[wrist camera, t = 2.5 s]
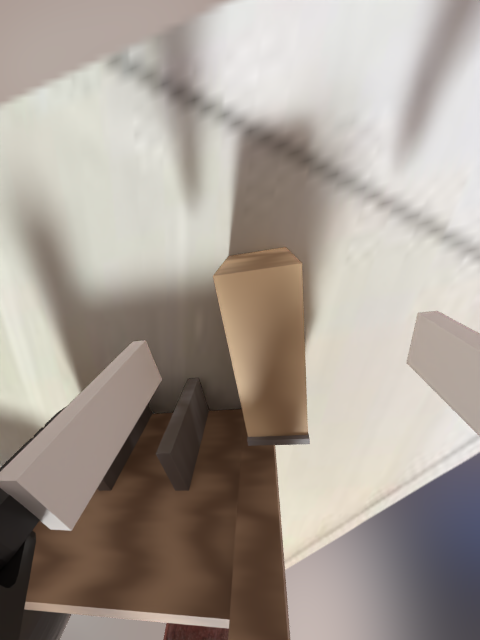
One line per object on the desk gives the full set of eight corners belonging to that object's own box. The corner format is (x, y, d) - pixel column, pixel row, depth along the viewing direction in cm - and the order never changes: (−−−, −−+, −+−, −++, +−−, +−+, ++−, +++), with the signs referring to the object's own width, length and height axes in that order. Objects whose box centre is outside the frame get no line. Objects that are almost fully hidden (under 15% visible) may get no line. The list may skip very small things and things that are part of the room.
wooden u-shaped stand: (99, 430, 28) (-191, 819, 10) (71, 387, 25) (-436, 848, 7) (273, 422, 25) (316, 977, 7) (266, 372, 21) (314, 1175, 3)
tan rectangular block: (250, 383, 22) (248, 445, 16) (228, 256, 17) (210, 277, 11) (294, 380, 22) (309, 444, 15) (286, 246, 16) (304, 264, 10)
